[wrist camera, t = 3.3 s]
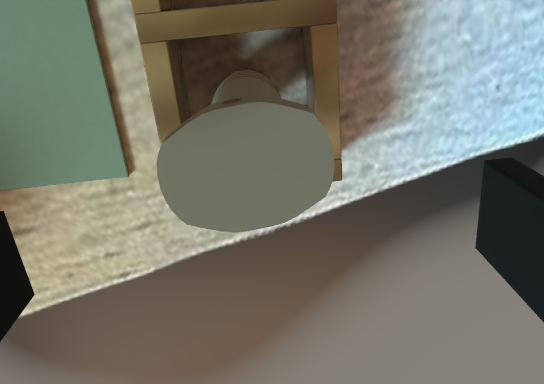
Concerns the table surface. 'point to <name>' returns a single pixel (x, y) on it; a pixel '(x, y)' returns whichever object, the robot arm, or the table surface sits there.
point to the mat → (54, 97)
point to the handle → (246, 159)
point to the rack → (229, 20)
